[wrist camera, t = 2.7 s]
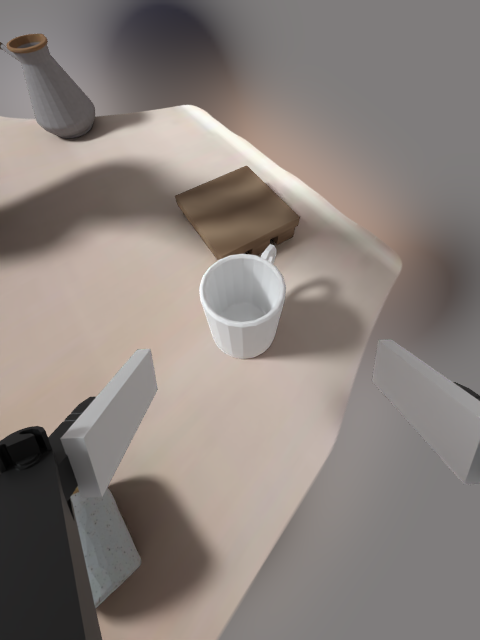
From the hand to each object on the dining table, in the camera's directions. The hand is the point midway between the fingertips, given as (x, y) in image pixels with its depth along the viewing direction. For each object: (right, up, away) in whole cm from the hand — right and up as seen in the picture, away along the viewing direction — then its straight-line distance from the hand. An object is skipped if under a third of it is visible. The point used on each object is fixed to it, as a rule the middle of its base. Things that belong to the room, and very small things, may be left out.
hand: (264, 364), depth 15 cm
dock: (-2, +18, +25) cm, 31 cm away
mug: (0, +3, +18) cm, 19 cm away
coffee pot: (-41, +45, +40) cm, 73 cm away
